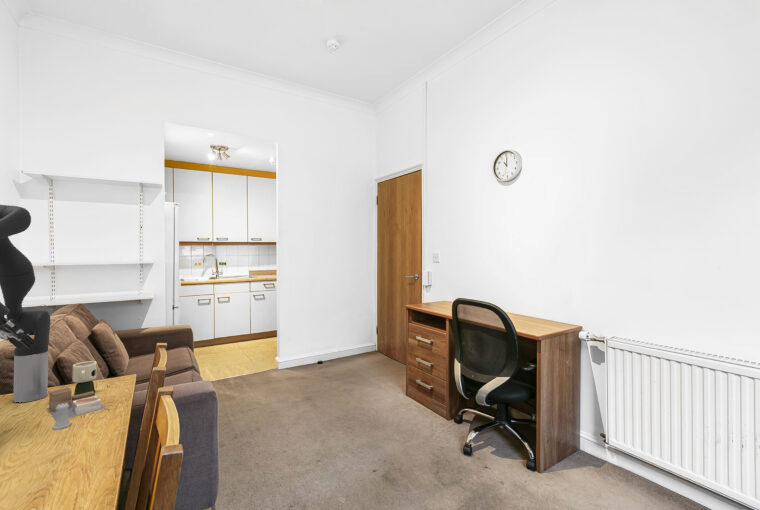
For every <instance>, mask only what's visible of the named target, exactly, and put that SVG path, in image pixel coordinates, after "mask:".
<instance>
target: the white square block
mask: <svg viewBox="0 0 760 510" xmlns="http://www.w3.org/2000/svg"><path fill="white" fill-rule="evenodd" d="M101 404H102V399H100V398H99V397H98V396H97V395H95V396H92V397H88V398H84V399H79V400H75V401H73V404H72V410H73V411H74V412H75V413H76V415H79V414H82V415H84V414H83V413H86V412H90V411H94V410H97V411H99V410H98V409H101ZM101 410H102V409H101ZM94 412H95V411H94ZM90 413H91V412H90ZM86 414H87V413H86ZM79 416H80V415H79Z"/></svg>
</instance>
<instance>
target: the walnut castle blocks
mask: <svg viewBox="0 0 760 510" xmlns="http://www.w3.org/2000/svg"><path fill="white" fill-rule="evenodd" d="M48 392H49V393H48V394H49V395H48V396H49V397H48V398H49V399H48V401H49V402H48V408H49V409H50V410H51V412H56V411H57V410H55V409H56V407H57V405H58V404H60V405H61V403H63V404H65V403H68V405H69V407H68V408H71V402H72V404H73V401H75V400H79V399H84V398H88V397H92V396H96V392H93V391H92V392H87V393H83V394H79V395H74V394H73V395H72V389H71V388H70V387H69V386H67V387H63V388H58V389H54V390H50V391H48Z"/></svg>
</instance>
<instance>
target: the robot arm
mask: <svg viewBox="0 0 760 510" xmlns="http://www.w3.org/2000/svg"><path fill="white" fill-rule="evenodd" d="M31 223H32V216H31V213H30V212H29V210H28V209H27V208H25V207H21V206H18V205H9V204H8V205H7V204H0V290H1V294H2V297H3V298H2V299H3V301H4V304H3V303H2V302H1V301H0V340H4V341H6V342H7V341H8V343H10V344H12V345H13V346H14V347H15V348H14V350H13V355H14V356H13V358H14V359H13V403H16V402H19V403H18V404H20V403H21V402H22V403H29V402H33V401H38V400H41V399H43V398H46V397H47V396H48V384H49V383H48V381H49V380H48V378H49V377H48V376H49V375H48V374H49V343H50V331H51V330H50V329H51V315H50V312H49V311H48V310H28V311H24V309H23V302H24V299H25V298H26V296H27V295H28V293H29V292H30V291H31V289H32V288H33V286H34V285H35V283H36V275H35V269H34V266H33V264H32V262H31V260H30V258H28V257H26V255H25V254H23V252H21V250H20V249H18V248H17V247H16V246H15V245H14V244H13V242H11V240H10V238H9V237H12V236H14V235H17V234H18V235H19V234H20V233H23V232H25V231H26V230H28V228H29V227H30V226H31ZM31 336H33V338H32V337H31Z"/></svg>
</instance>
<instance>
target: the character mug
mask: <svg viewBox="0 0 760 510" xmlns="http://www.w3.org/2000/svg"><path fill="white" fill-rule="evenodd" d="M97 364H98V362H97V361H96V360H95V361H94V360H93V361H92V360H89V361H81V362H78V363H74V364H72V383H76V384H75V388H74V392H73V396H74V395H79V394H83V393H87V392H92V391H93V392H94V393H96V391H95V389H96V388H95V383H94V381H93V380H95V379H97V375H98V373H97V371H98V370H97V368H98V367H97V366H98V365H97Z"/></svg>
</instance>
